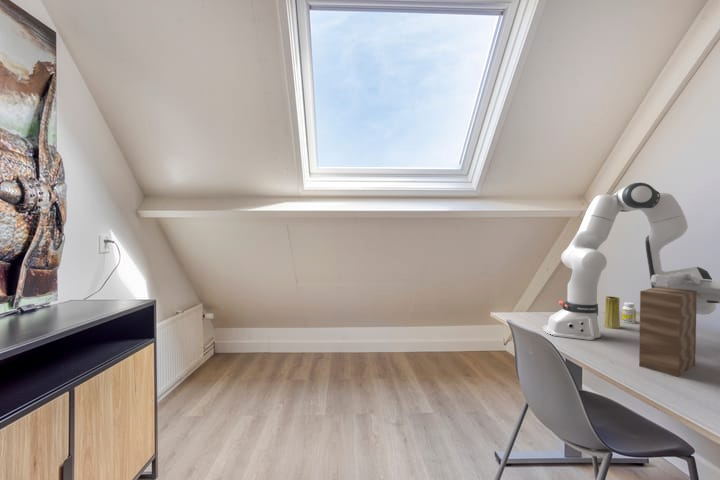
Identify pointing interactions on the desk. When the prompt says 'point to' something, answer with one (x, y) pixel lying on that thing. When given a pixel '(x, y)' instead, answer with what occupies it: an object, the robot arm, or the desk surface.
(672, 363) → the pedestal
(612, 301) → the vase
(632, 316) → the supplement bottle
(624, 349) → the desk surface
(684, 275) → the block
